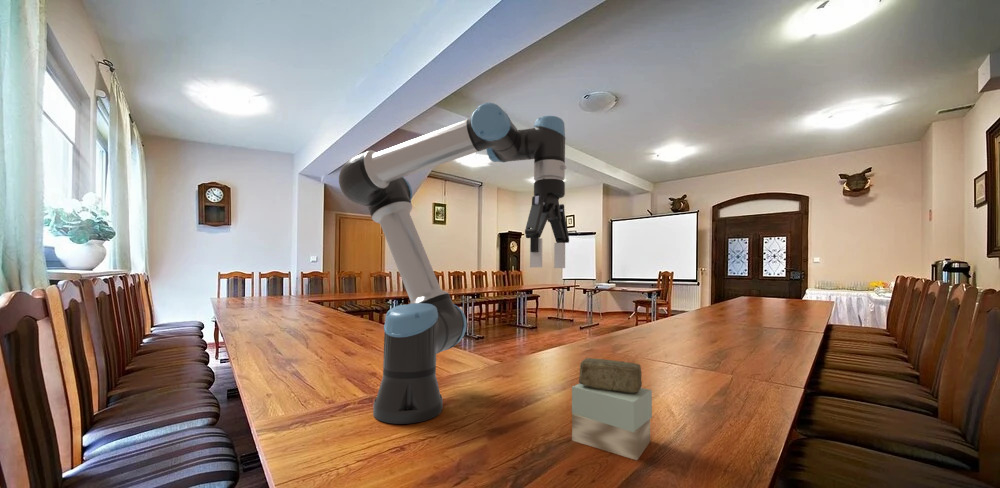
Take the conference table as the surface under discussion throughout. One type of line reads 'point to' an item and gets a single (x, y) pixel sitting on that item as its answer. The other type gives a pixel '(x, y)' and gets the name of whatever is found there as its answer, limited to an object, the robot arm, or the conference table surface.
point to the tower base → (611, 437)
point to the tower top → (613, 406)
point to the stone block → (610, 375)
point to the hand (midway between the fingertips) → (548, 267)
